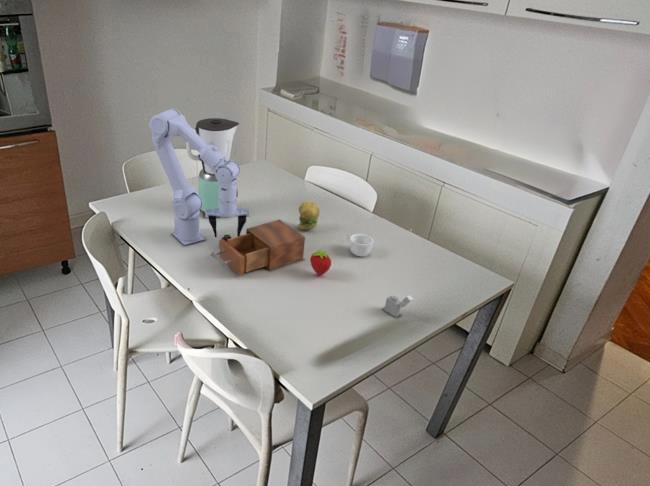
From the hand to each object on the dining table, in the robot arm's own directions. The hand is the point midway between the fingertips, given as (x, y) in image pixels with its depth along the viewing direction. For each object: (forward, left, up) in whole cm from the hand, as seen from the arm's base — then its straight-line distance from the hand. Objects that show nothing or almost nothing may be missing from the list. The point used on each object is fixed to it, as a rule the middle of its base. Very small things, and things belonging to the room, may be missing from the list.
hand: (227, 235), depth 177 cm
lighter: (+56, +22, -5) cm, 61 cm away
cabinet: (+12, +11, -5) cm, 17 cm away
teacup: (+24, +37, -5) cm, 45 cm away
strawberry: (+29, +16, -5) cm, 34 cm away
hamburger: (+3, +32, -5) cm, 33 cm away
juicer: (-27, +10, -5) cm, 29 cm away
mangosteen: (0, 0, -5) cm, 5 cm away
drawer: (+12, -2, -4) cm, 13 cm away
